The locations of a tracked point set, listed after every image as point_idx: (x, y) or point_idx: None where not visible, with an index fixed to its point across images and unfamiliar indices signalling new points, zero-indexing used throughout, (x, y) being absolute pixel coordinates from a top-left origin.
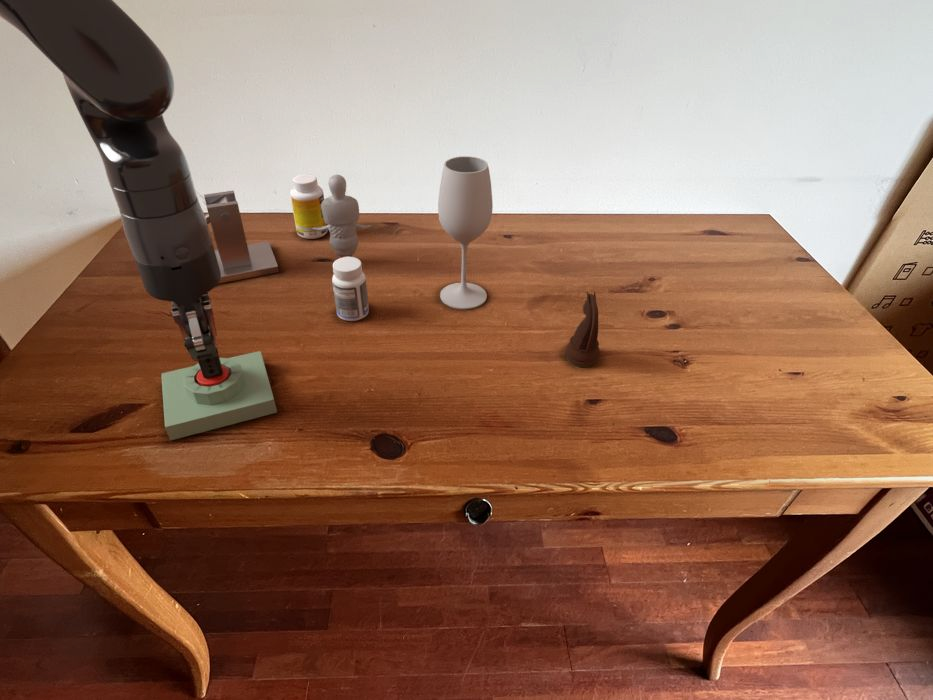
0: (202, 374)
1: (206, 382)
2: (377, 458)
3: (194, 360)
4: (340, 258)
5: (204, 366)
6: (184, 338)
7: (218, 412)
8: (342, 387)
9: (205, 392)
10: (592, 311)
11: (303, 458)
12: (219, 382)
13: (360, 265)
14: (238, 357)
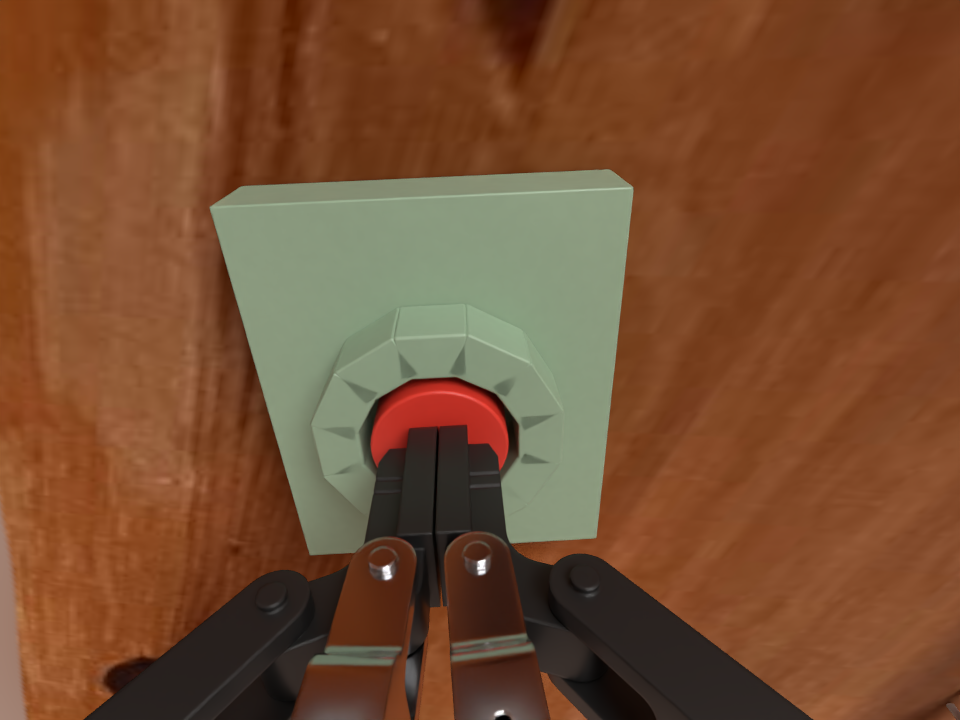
0: (449, 414)
1: (383, 428)
2: (108, 663)
3: (235, 598)
4: None
5: (371, 507)
6: (298, 702)
7: (271, 408)
8: None
9: (320, 418)
10: None
11: (115, 546)
12: (377, 466)
13: None
14: (592, 478)
